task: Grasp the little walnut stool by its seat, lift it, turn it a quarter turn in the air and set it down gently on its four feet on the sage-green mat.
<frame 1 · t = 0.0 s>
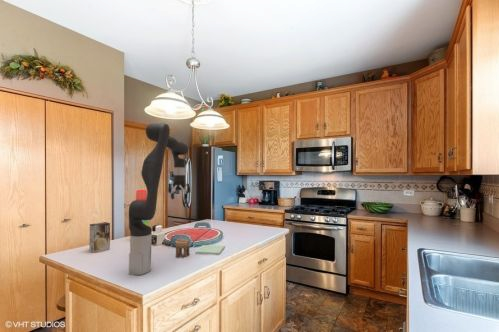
hand: (179, 199, 163), 29 cm above the counter, tool pointing down, fingers open, 8 cm apart
stacking cups: (141, 240, 173), on the counter
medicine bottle: (157, 244, 164), on the counter
sage mat: (210, 250, 149), on the counter
walnut stool: (182, 255, 140), on the counter
coffee box: (99, 250, 149), on the counter
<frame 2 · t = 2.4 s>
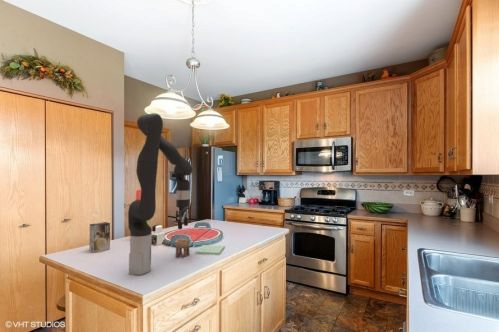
hand: (183, 227, 141), 16 cm above the counter, tool pointing down, fingers open, 8 cm apart
nothing on the counter moved.
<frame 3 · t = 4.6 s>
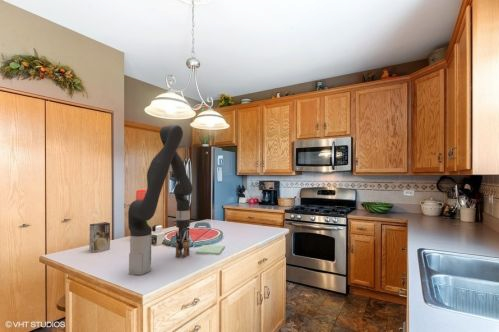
hand: (182, 248, 140), 4 cm above the counter, tool pointing down, fingers closed on walnut stool, 6 cm apart
walnut stool: (182, 255, 140), on the counter, touching gripper
everything else where it was.
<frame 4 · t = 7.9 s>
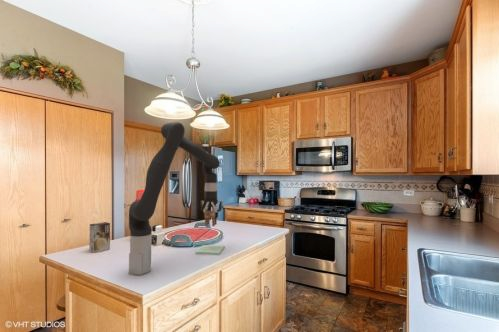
hand: (210, 218, 150), 19 cm above the counter, tool pointing down, fingers closed on walnut stool, 6 cm apart
walnut stool: (210, 225, 150), point 15 cm above the counter, touching gripper
everything else where it was.
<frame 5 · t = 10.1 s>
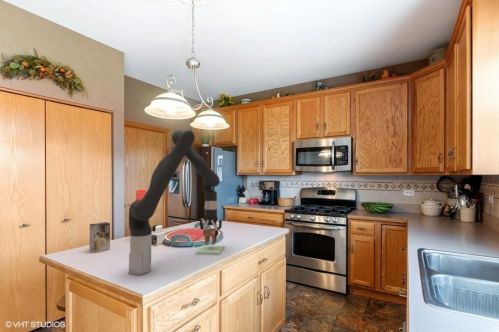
hand: (210, 236, 150), 9 cm above the counter, tool pointing down, fingers closed on walnut stool, 6 cm apart
walnut stool: (210, 243, 149), point 5 cm above the counter, touching gripper
everything else where it was.
when the fingers open (7 cm above the counter, at t = 11.7 s): walnut stool drops 1 cm, resting on sage mat.
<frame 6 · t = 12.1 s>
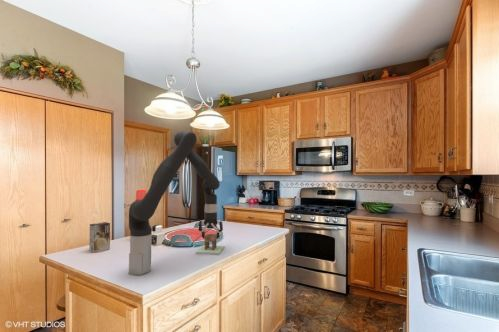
hand: (210, 238, 150), 7 cm above the counter, tool pointing down, fingers open, 8 cm apart
walnut stool: (210, 248, 149), point 1 cm above the counter, touching sage mat
everything else where it was.
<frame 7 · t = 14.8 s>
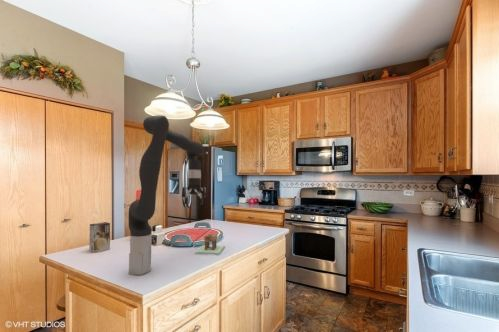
hand: (193, 204, 149), 28 cm above the counter, tool pointing down, fingers open, 8 cm apart
nothing on the counter moved.
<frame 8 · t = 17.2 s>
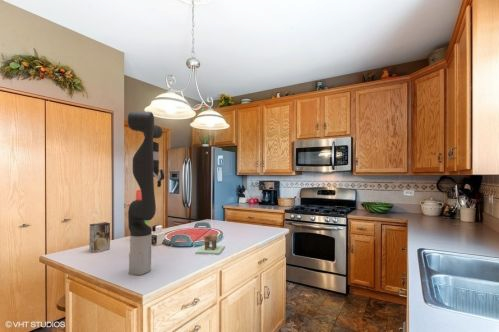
hand: (151, 187, 148), 38 cm above the counter, tool pointing down, fingers open, 8 cm apart
nothing on the counter moved.
at the end: walnut stool inside the target area on the sage mat (0.0 cm from its centre), point 1.2 cm above the sage mat's base; walnut stool tilted 0°; the gripper is holding nothing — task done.
